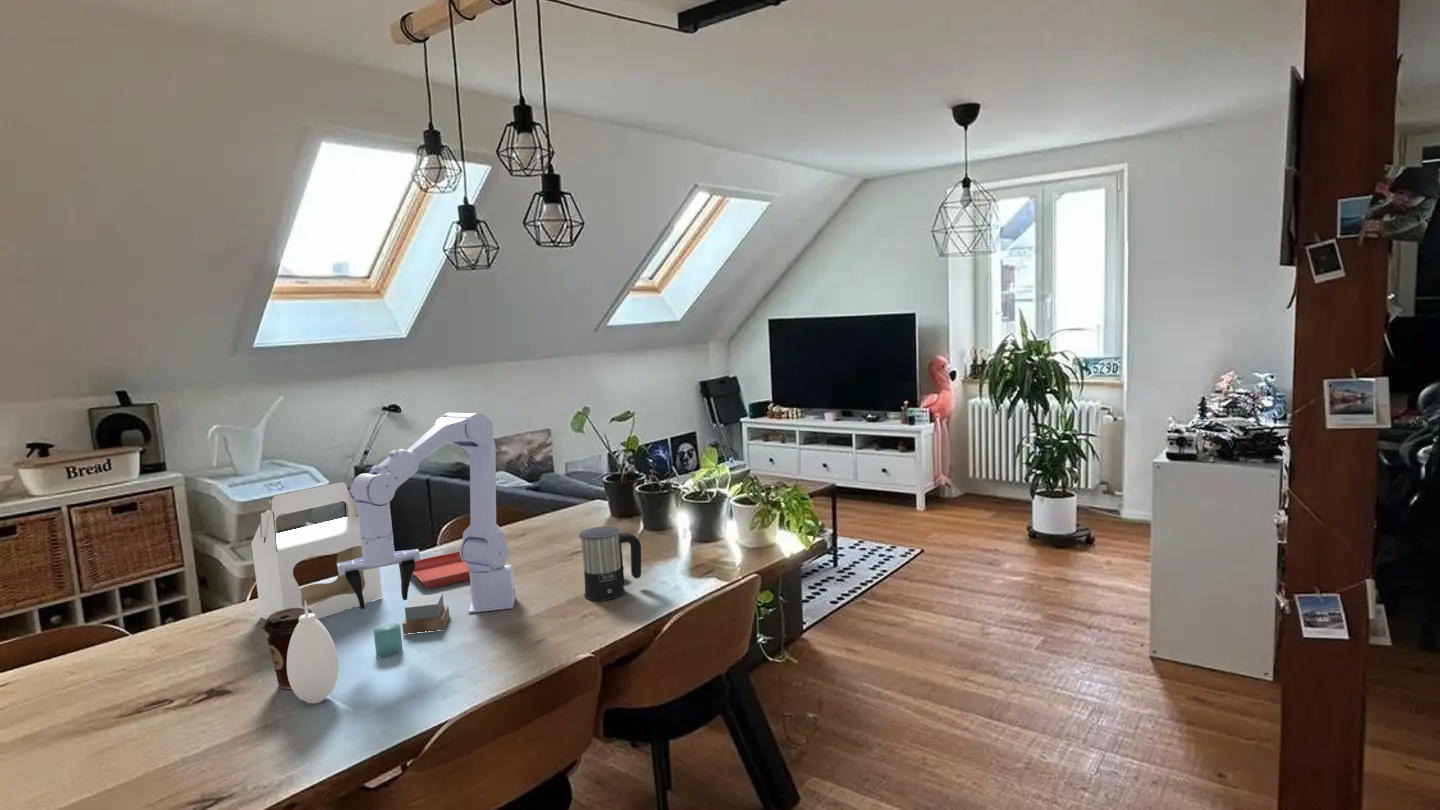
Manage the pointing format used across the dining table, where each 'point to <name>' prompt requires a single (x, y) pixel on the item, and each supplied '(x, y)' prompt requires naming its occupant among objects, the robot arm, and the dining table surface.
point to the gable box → (309, 555)
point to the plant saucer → (441, 570)
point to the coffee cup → (282, 639)
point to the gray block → (424, 607)
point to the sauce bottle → (311, 660)
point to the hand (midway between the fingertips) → (383, 602)
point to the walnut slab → (427, 623)
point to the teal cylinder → (388, 639)
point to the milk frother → (607, 561)
